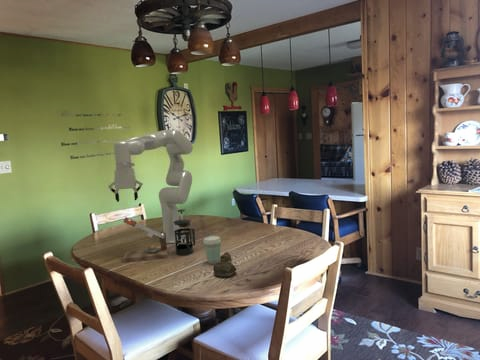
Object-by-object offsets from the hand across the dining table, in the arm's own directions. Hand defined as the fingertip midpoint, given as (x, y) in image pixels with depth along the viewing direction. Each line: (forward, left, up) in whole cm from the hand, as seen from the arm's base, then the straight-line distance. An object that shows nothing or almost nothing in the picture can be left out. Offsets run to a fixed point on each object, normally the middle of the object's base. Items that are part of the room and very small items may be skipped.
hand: (127, 200), depth 190 cm
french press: (-27, 0, -30) cm, 41 cm away
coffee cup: (-40, +20, -30) cm, 54 cm away
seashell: (-42, +38, -30) cm, 64 cm away
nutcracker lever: (-6, 0, -18) cm, 19 cm away
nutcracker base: (-7, 0, -30) cm, 31 cm away
